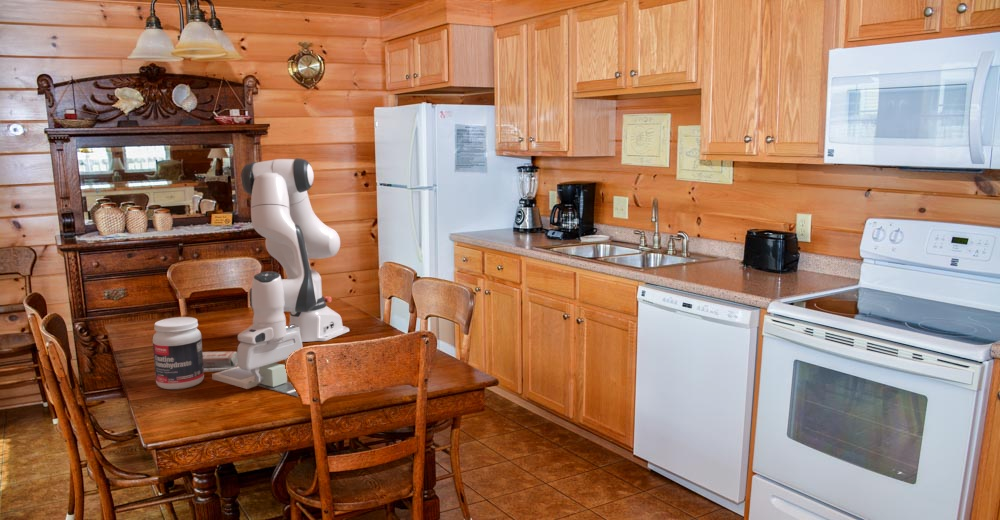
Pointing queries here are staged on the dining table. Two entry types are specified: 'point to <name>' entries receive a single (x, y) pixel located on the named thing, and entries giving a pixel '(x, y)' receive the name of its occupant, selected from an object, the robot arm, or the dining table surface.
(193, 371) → the supplement tub
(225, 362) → the packaged product
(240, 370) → the board
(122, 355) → the dining table surface
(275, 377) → the pale green cube
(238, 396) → the dining table surface
